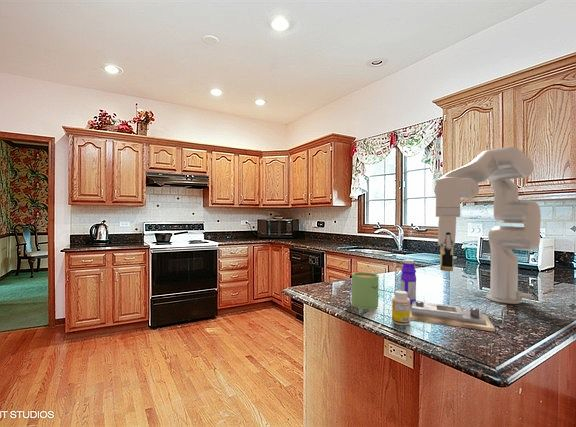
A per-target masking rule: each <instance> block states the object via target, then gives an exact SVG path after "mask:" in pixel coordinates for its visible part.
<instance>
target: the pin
mask: <svg viewBox="0 0 576 427" xmlns="http://www.w3.org/2000/svg"><path fill="white" fill-rule="evenodd" d="M439 250H440V256H439V257H440V258H439V262H440V263H439V264H440V265H439V270H440V271H443V272H453V271H454V265H453V266H452V267H444V266H442V255H443V247H442V246H440V249H439ZM452 255H453V256H454V246H452Z"/></svg>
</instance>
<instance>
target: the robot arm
mask: <svg viewBox="0 0 576 427" xmlns="http://www.w3.org/2000/svg"><path fill="white" fill-rule="evenodd" d="M534 168H535V166H534V161H533V160H532V159H531V157H529V156H528V154H526V153H525V152H524V151H522V150H521V149H519V148H518V147H515V146H506V147H499V148H491V149H488V150H484V151H482V152H480V154H478V155H477V157H475V158H474V159H473V160H472V161H471V162H469V163H468V164H466V165H463V166H460V167H458V168H456V169H454V170H451V171H449V172H447V173H446V174H444V175H442V176H441V177H440V178H437V180H436V183H435V186H434V195H435V217H436V218H438V225H437V245H439V247H443V255H442V266H444V267H452V266H453V267H454V254H453V255H452V247H454V246H455V245H456V236H457V218H461V200H470V199H474V198H475V197H476V196H478V195H479V191H480V186H479V184H480V183H483V182H485V181H487V180H488V181H489V183H490V184H491V186H492V189H493V195H494V196H493V219H494V220H495V221H496V222H498V223H502V224H523V226H514V225H513V226H512V225H511V226H510V225H499V226H493V227H492V228H490V229H489V231H488V234H487V235H488V236H487V238H488V244H489V249H490V283H489V284H490V293H487V294H485V297H486V300H487V299H488V300H490V301H493V302H497V303H502V304H509V305H518V304H521V303H523V299H528V300H532V298H533V296H532V294H531V293H525V292H521V291H519V290H518V289H519V288H518V286H519V285H518V280H519V276H518V275H519V271H518V270H519V266H518V265H519V261H518V257H517V255H516V254H515V252H514V251H513V250H516V251H517V250H518V251H530V252H531V251H535V250H537V249H538V248H539V246H540V242H541V220H542V218H541V217H542V216H541V208H540V205H539V204H538V203H537V201H534V200H519V188H518V186H517V185H516V184H515V182H514V181H512V180H514V179H526V178H527V177H528V178H529V177H530V176H531V175H532V174H533V172H534Z"/></svg>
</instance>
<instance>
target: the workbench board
mask: <svg viewBox="0 0 576 427" xmlns="http://www.w3.org/2000/svg"><path fill="white" fill-rule="evenodd" d="M482 315H483V317H484V319H485V320H486V325H484V324H477V323H470V322H462V321H455V320H448V319H440V318H433V317H426V316H419V315H412V305H410V321H419V322H425V323H433V324H439V325H440V324H441V325H445V324H446V325H447V326H452V325H453V327H460V328H467V329H475V330H481V331H489V332H494V333H495V331H496V328H495V326H494V325H493V323H492V321H491V320H490V318H489V317H488V315H487V314H482Z"/></svg>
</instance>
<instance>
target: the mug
mask: <svg viewBox="0 0 576 427" xmlns="http://www.w3.org/2000/svg"><path fill="white" fill-rule="evenodd" d="M379 278H380V277H379V274H377V273H374V272H373V273H372V272H363V271H362V272H361V271H360V272H359V271H358V272H352V274H351V306H353V307H354V308H357V309H361V310H362V309H363V310H374V308H375V309H377V307H379V297H380V295H379V286H380V283H379Z"/></svg>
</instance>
